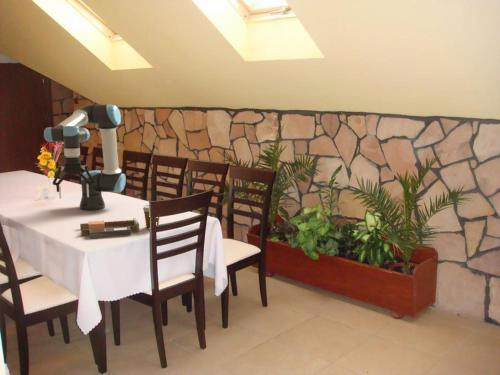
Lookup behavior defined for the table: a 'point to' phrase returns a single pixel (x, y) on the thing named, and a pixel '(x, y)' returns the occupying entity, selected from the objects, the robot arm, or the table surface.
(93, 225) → the terracotta block
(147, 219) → the disposable coffee cup
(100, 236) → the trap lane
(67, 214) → the table surface
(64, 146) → the robot arm
